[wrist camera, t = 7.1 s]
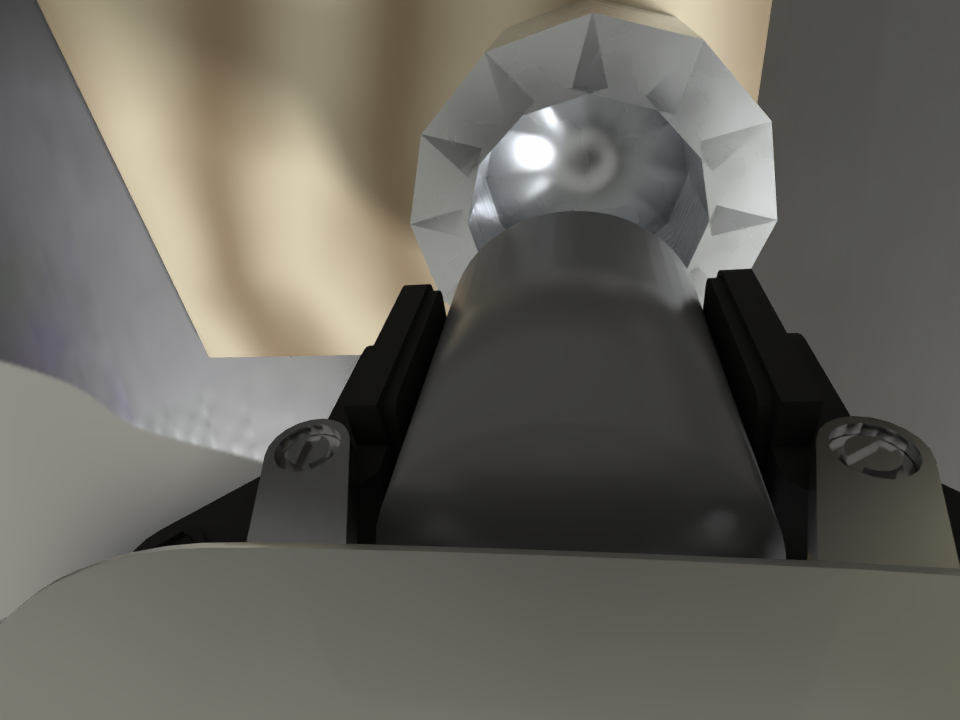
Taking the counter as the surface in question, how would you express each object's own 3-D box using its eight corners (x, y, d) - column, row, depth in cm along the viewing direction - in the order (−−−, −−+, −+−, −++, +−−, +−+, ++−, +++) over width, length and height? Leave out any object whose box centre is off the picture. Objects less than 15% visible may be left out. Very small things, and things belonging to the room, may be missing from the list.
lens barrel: (592, -83, 16) (596, -91, 12) (797, 161, 19) (853, 219, 15) (393, 172, 22) (349, 225, 18) (578, 333, 25) (577, 409, 21)
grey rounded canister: (575, 152, 10) (576, 337, 5) (751, 329, 12) (875, 594, 7) (405, 324, 13) (304, 551, 8) (567, 450, 14) (564, 702, 10)
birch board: (782, -155, 16) (795, -161, 15) (716, 332, 25) (721, 348, 24) (49, -30, 20) (22, -29, 19) (221, 343, 29) (209, 357, 28)
